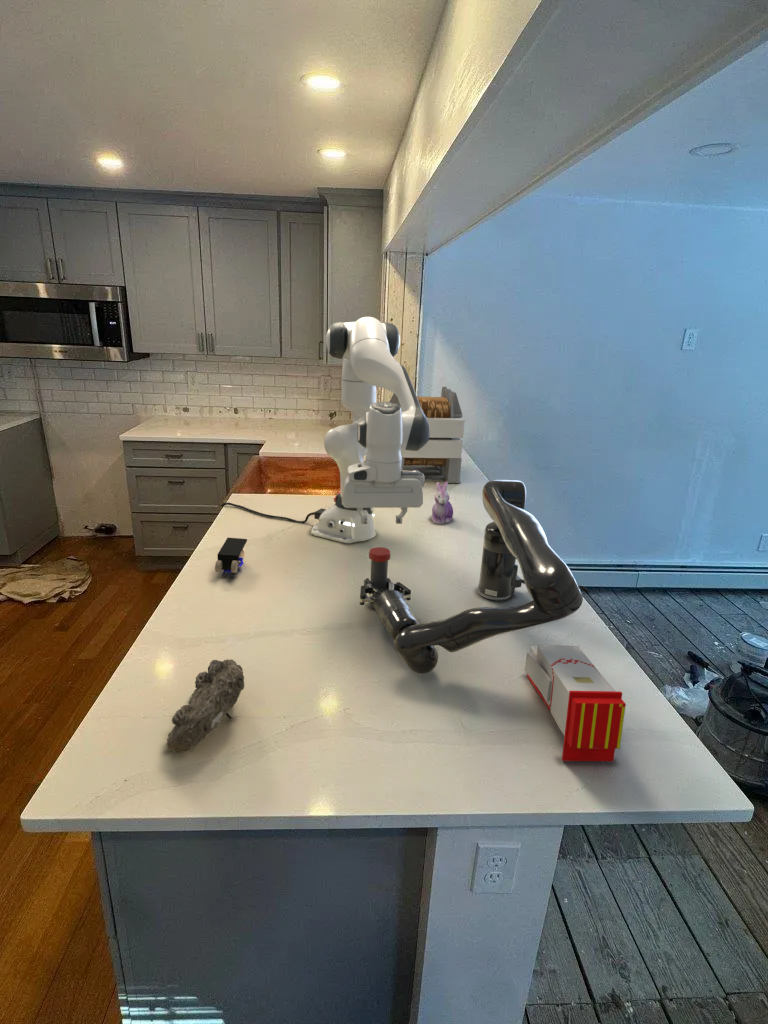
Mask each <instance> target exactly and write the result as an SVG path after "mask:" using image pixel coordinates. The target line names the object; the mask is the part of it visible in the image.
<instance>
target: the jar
mask: <svg viewBox="0 0 768 1024" xmlns="http://www.w3.org/2000/svg"><path fill="white" fill-rule="evenodd" d="M388 566H389V560H388V561H385V562H375V561H372V560H371V559H370V578H369V580H370V582H371V584H372V585H373V586H377V587H378V588H379V589H387V578H388V569H389V567H388ZM369 597H370V596H369ZM370 598H371V597H370ZM368 604H369V607H370V608H371V609H373V610H375V607H374V606H373V605H372V604H371V603H370V602H368Z"/></svg>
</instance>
